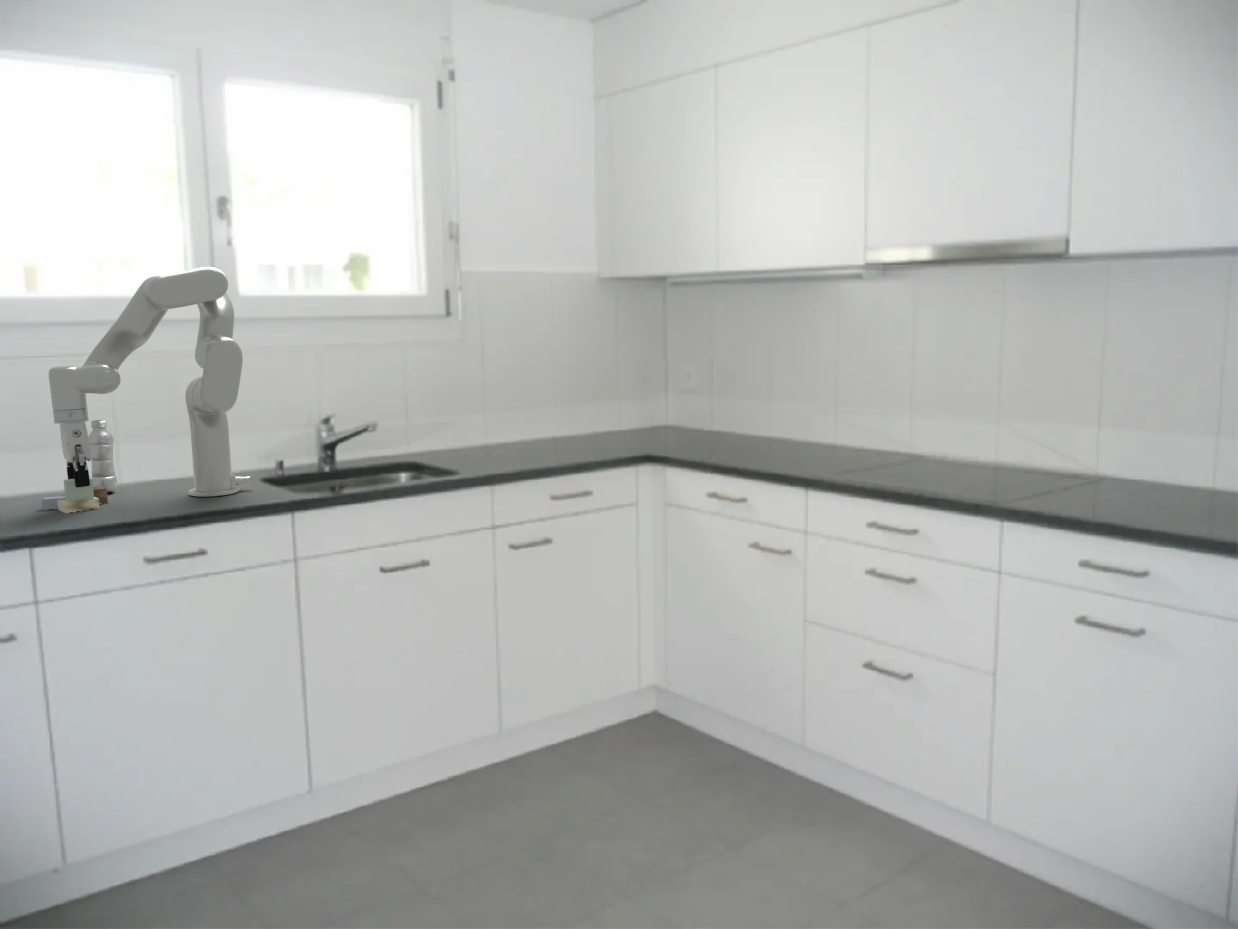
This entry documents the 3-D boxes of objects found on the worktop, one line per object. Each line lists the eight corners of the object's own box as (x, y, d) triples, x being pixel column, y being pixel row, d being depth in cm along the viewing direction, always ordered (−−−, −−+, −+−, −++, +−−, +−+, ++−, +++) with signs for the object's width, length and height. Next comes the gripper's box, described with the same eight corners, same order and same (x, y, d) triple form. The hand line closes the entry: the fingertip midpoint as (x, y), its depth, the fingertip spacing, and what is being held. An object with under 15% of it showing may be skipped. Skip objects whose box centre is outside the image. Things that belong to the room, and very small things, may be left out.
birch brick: (92, 507, 255) (91, 496, 255) (99, 510, 252) (98, 498, 251) (58, 512, 249) (57, 500, 249) (65, 515, 246) (64, 503, 245)
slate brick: (73, 507, 255) (71, 495, 254) (68, 510, 251) (67, 498, 251) (47, 508, 254) (46, 496, 253) (42, 511, 250) (41, 499, 250)
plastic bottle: (107, 490, 278) (100, 418, 275) (123, 492, 275) (117, 419, 272) (86, 494, 272) (79, 421, 269) (102, 495, 269) (96, 422, 266)
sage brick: (92, 496, 253) (90, 477, 253) (94, 498, 251) (92, 479, 250) (65, 499, 250) (63, 479, 249) (66, 501, 247) (65, 481, 247)
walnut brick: (100, 502, 261) (99, 487, 260) (107, 503, 259) (106, 488, 258) (81, 505, 257) (80, 490, 256) (88, 506, 255) (87, 491, 254)
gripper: (94, 417, 243) (102, 486, 245) (81, 412, 256) (89, 478, 259) (59, 420, 238) (68, 490, 241) (48, 415, 252) (56, 481, 254)
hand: (79, 484), depth 250 cm, fingers open, 9 cm apart
